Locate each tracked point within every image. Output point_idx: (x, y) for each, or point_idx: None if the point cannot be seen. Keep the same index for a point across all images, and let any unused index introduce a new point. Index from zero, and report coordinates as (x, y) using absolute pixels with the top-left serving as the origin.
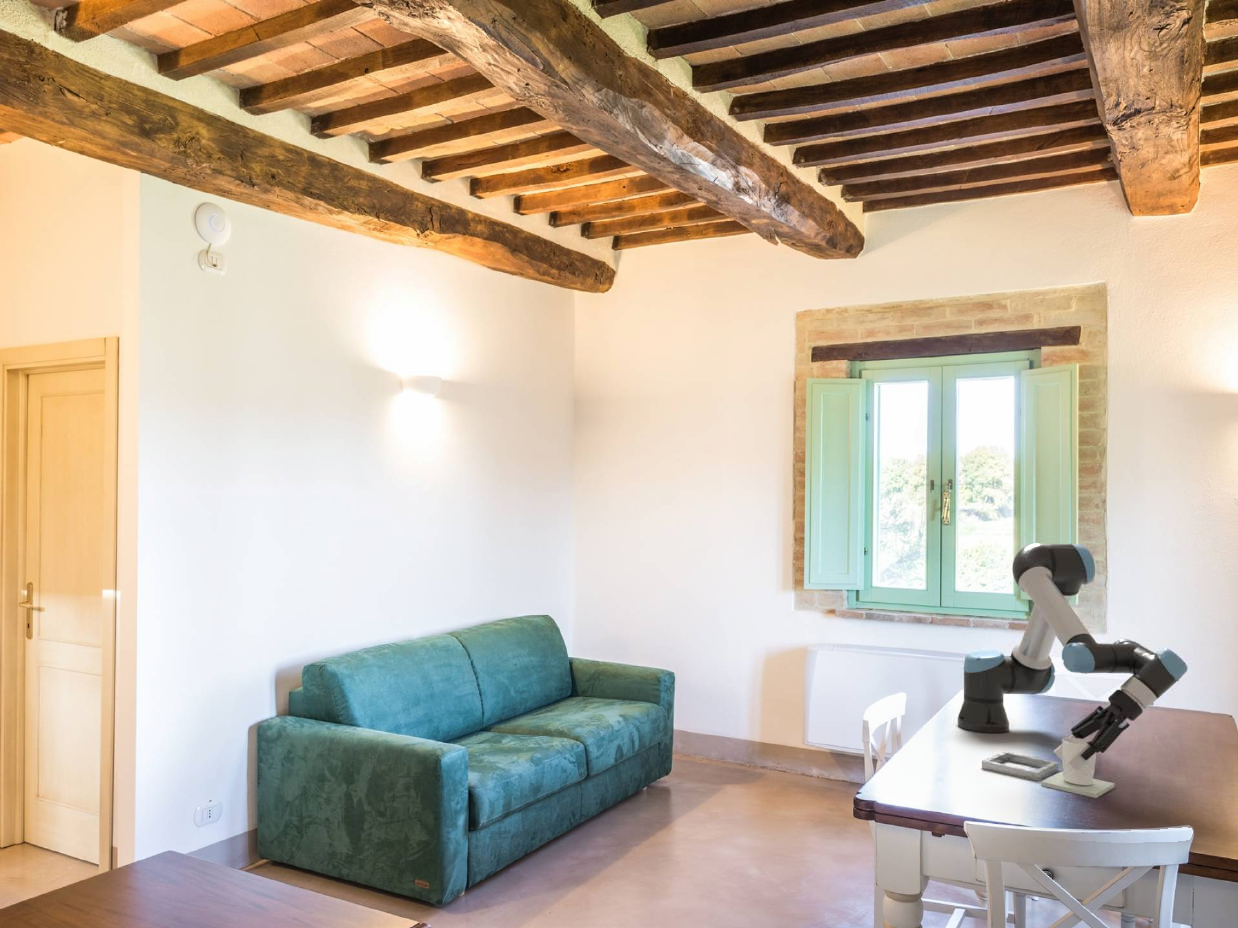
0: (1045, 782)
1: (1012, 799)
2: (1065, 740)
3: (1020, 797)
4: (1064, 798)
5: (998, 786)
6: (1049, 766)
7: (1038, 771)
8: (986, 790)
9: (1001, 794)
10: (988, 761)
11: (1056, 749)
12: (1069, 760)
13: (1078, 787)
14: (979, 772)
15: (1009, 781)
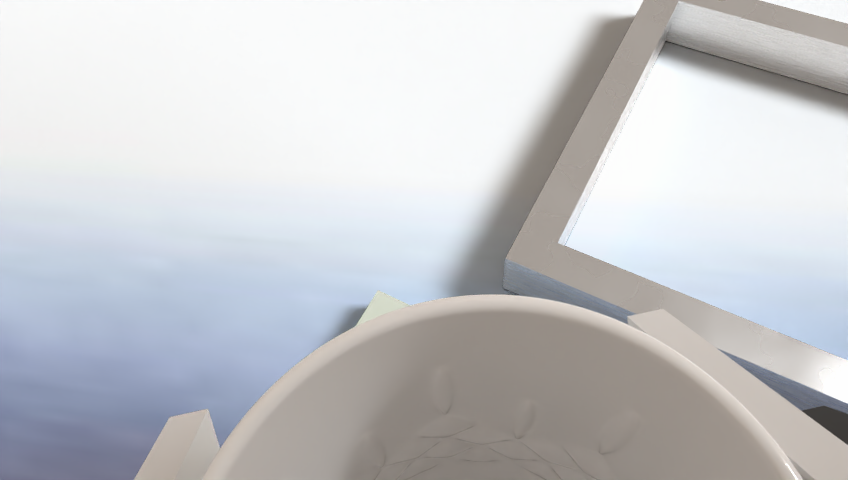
0: (360, 318)
1: (27, 131)
2: (660, 384)
3: (69, 169)
4: (75, 430)
5: (273, 79)
6: (804, 379)
7: (558, 273)
8: (178, 32)
9: (116, 88)
10: (661, 2)
11: (664, 330)
12: (175, 429)
13: None
14: (539, 6)
15: (406, 132)
